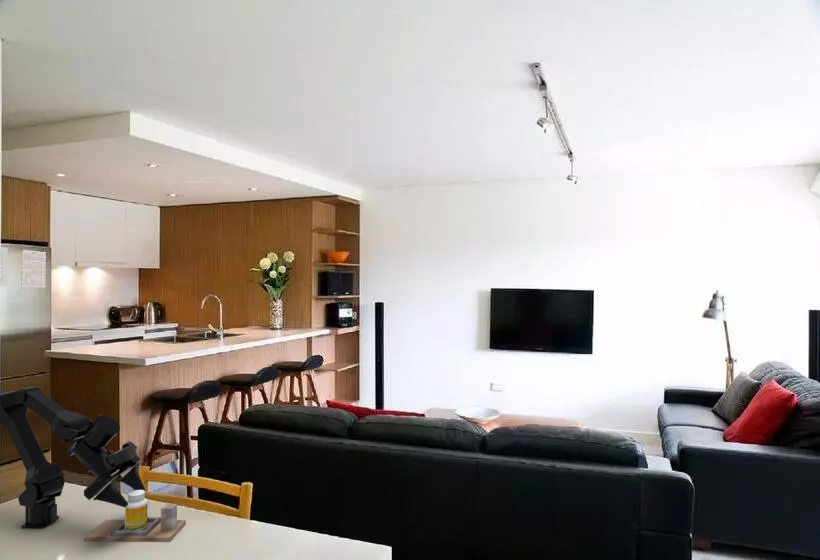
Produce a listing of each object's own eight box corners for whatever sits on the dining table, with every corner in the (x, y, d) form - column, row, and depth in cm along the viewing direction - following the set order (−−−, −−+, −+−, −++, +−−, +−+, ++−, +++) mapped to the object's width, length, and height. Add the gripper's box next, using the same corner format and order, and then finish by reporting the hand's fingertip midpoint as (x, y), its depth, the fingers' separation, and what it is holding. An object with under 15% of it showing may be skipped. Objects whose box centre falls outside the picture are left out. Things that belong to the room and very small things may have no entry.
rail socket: (84, 540, 138) (84, 513, 138) (106, 523, 148) (106, 498, 148) (170, 541, 138) (170, 514, 138) (185, 523, 148) (186, 498, 148)
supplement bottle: (122, 527, 144) (123, 491, 144) (144, 521, 147) (145, 486, 147) (127, 535, 140) (127, 498, 139) (149, 529, 143) (149, 493, 143)
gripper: (96, 446, 134) (140, 491, 134) (134, 426, 152) (172, 465, 153) (64, 477, 134) (108, 522, 134) (105, 453, 152) (144, 492, 153)
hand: (135, 498), depth 143 cm, fingers open, 9 cm apart
